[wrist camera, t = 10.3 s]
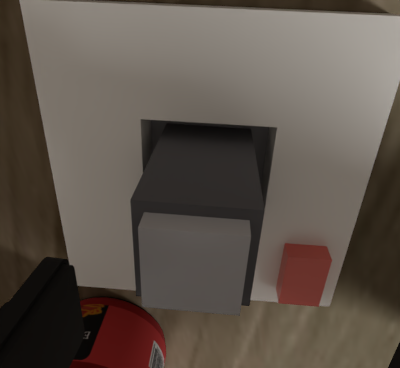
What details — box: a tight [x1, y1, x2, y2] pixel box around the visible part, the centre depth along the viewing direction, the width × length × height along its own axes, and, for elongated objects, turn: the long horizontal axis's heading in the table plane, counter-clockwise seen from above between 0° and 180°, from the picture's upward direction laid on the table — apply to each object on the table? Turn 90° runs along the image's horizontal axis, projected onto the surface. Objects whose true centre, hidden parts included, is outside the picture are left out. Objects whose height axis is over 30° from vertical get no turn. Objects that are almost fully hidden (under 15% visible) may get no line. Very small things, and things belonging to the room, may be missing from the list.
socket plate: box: [19, 0, 400, 306], centre depth 16 cm, size 14×14×3 cm
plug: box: [130, 123, 265, 316], centre depth 14 cm, size 4×4×8 cm
